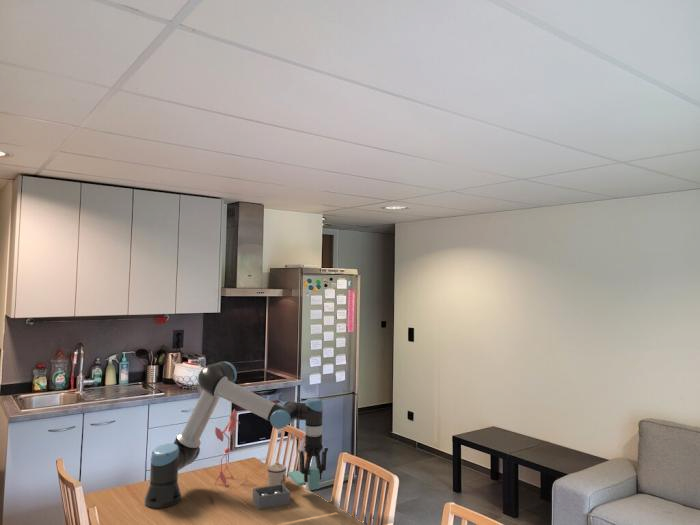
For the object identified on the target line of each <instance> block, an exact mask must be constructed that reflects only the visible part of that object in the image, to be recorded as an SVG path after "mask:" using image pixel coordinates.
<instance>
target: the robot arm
mask: <svg viewBox="0 0 700 525" xmlns="http://www.w3.org/2000/svg"><path fill="white" fill-rule="evenodd" d="M237 376H238V372H237V369H236V367H235V365H234V364H232V363H231V362H229V361H219V362H217V363H213V364H209V365H206V366H204V367H202V369H201V370H200V372H198V376H197V382H198V385H199V387H200V388H201V390H202V392H201V394H200V396H199V398H198V399H197V401H196V404H195V406H194V408H193V410H192V412H191V415H190V417H189V419H188V421H187V423H186V424H185V427H184V428H183V431H182V432H180V433H178V434H177V435H176V437H175V439H174V442H173V443H164V444H160V445H158V446H157V447H155V448H154V449H153V450H152V451H151V456H150V473H149V474H150V475H149V486H148V489H147V490H146V494H145V496H144V505H145V506H146V507H148V508H153V509H164V508H169V507H172V506H175V505H177V504H179V503H180V501H181V499H182V492H181V489H180V486H179V482H178V479H179V478H178V477H179V471H180V470H182V469H183V468H185V467H186V466H187V467H188V466H189V465H191V464H193V463H194V462H195V460H197V458H198V457H199V455H200V452H201V447H200V446H201V443H202V442H201V437H202V435H203V432H204V431H205V428H206V427H207V424H208V422H209V420H210V419H211V417H212V415H213V413H214V411H215V408H216V406H217V404H218V402H219V400H220V398H222V399H224V400H226V401H228V402H230V403H232V404H234V405H236V406H238V407H240V408H242V409H244V410H246V411H248V412H251V413H252V414H254V415H257V416H258V417H261V418H263V419H264V420H266V421H269V422H270V425H271V426H272V428H274V429H276V430H280V429H284V428H285V427H288V426H289V425H290V424H291V423H293V422H294V421H296V420H297V421H305V429H304V431H305V436H304V444H305V445H304V448H302V449H299V450H298V454H299V470H300V472H301V473H302V474H304V481H305V482H306V485H305V489H306V491H310V489H309V488H310V475H309V474H308V472H309V468H310V466H311V462H312V459H313V457H314V459H315V463H316V464H315V465H316V467H317V468H318V469H319V483H321V480H322V474H323V471H326V468H327V453H328V450H329V448H328V447H327V446H323V444H322V443H323V417H324V415H323V411H324V409H323V408H324V407H323V404H324V403H323V400H322V399H320V398H319V397H318V398H316V397H310V398H307V399H306V401H305V402H299V401H298V402H297V401H290V400H288V401H281V403H280V405H279V404H277V403H275V402H273V401H271V400H269V399H267V398H266V397H264V396H260V395H259V394H258V393H257V394H256V393H255V392H253V391H251V390H249V389H246V388H244V387H243V386H240V385H238V384H236V383H235V382H236V380H237ZM305 453H306V459H305ZM320 453H321V454H320Z"/></svg>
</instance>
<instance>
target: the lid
mask: <svg viewBox="0 0 700 525" xmlns="http://www.w3.org/2000/svg"><path fill="white" fill-rule="evenodd" d="M286 473H287V474H286V475H287V476H288V477H289V479H291V480H292V481H293V482H294V483H295V484H296V486H298V487H301V486H306V482H305V481H304V474H302V473H301V472H300V469H299V470H292V471H286ZM308 474H309V475H310V488H309V491H311V490H318V489H320V482H319V469H318V468H317V466H315V465H310V468H309V472H308Z"/></svg>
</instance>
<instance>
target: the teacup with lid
mask: <svg viewBox="0 0 700 525" xmlns="http://www.w3.org/2000/svg"><path fill="white" fill-rule="evenodd" d="M286 473H287V466H286V465H285V464H281V463H280V462H279V461H275V462H274V463H273V464H270V465H269V466H267V486H272V485H278V484H283V485H284V486H285V487H286V480H287V479H286V478H287V477H286V475H287V474H286Z"/></svg>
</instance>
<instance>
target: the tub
mask: <svg viewBox="0 0 700 525" xmlns="http://www.w3.org/2000/svg"><path fill="white" fill-rule="evenodd" d="M275 491H281V493H277V494H274V492H275ZM262 493H268V495H265V496H261V494H262ZM290 498H291V491H290V490H289V489H288V488H287V486H286V485H285V486H284V485H283V484H278V485H272V486H261V487H260V486H259V487H255V488H252V502H253V504H254V505H255V507H256V508H257V510H258V511H260V510H265V509H271V508H276V507H281V506H288V505H290V504H291V502H290V501H291V500H290Z"/></svg>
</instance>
